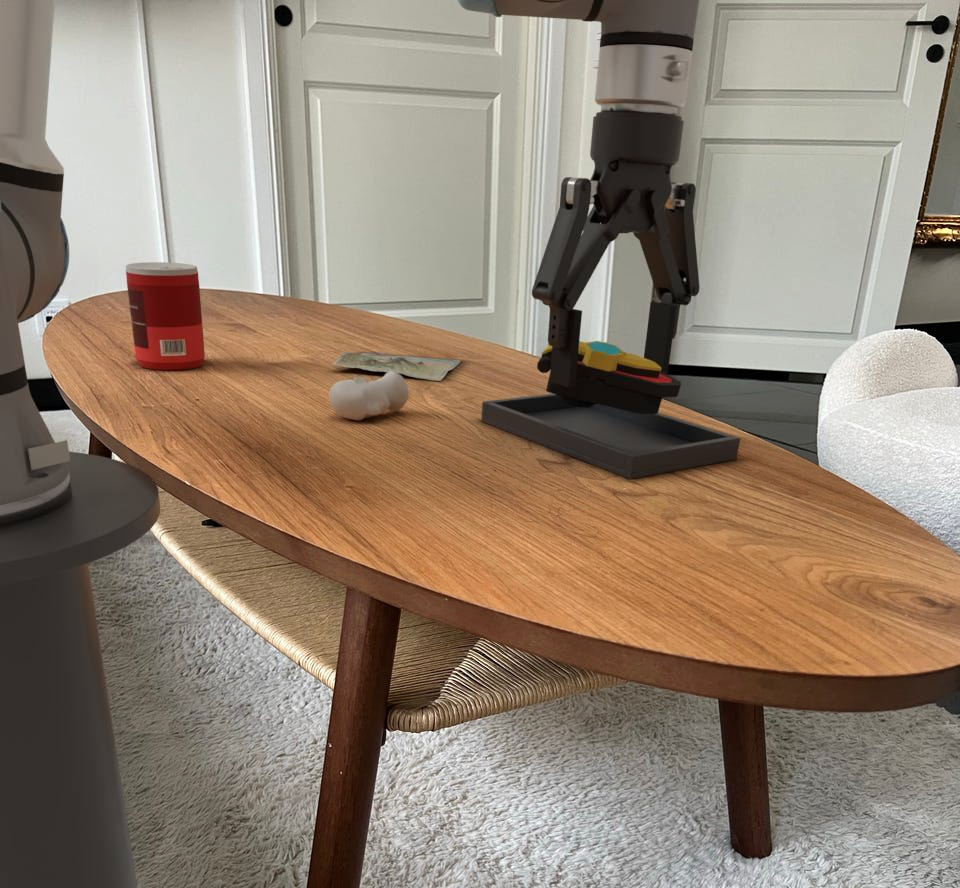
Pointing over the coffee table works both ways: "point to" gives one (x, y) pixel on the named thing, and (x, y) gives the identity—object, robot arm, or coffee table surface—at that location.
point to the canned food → (166, 315)
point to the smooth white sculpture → (368, 396)
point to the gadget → (613, 379)
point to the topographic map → (399, 364)
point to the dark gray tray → (612, 435)
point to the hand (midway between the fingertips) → (609, 379)
